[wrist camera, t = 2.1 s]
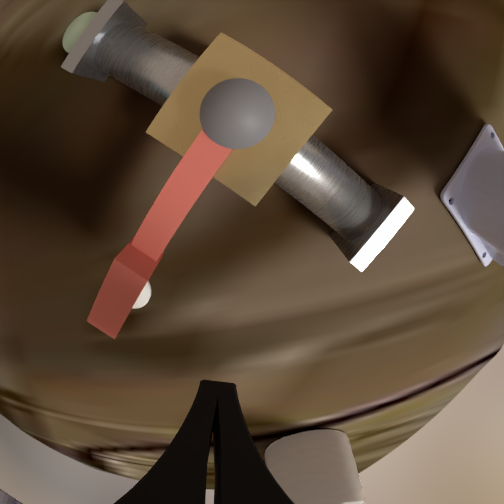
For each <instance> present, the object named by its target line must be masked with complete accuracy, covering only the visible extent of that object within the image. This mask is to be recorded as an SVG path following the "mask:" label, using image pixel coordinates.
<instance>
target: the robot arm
mask: <svg viewBox="0 0 504 504" xmlns="http://www.w3.org/2000/svg"><path fill="white" fill-rule="evenodd" d="M440 197H441V200H442V202H443V203H444V205H445V206H446V207H447V209H448V210H449V212H450V213H451V215H452V216H453V217H454V219H455V220H456V222H457V223H458V225H459V226H460V228H461V230H462V231H463V233H464V234H465V236H466V237H467V239H468V241H469V242H470V244H471V246H472V247H473V249H474V251H475V252H476V254H477V256H478V257H479V259H480V261H481V263H482V264H483V265H484V266H487V265H489V263H490V262H491V260H492V259H493V260H495V261H496V262H497V263H499V264H500V265H501V266H503V267H504V148H503V146H502V144H501V142H500V140H499V139H498V137H497V135H496V133H495V131H494V129H493V128H492V126H491V125H490V124H485V125H484V126H483V128H482V130H481V132H480V133H479V135H478V137H477V138H476V140H475V142H474V143H473V145H472V147H471V148H470V150H469V151H468V153H467V155H466V156H465V158H464V159H463V161H462V162H461V164H460V165H459V167H458V168H457V170H456V171H455V173H454V174H453V176H452V177H451V179H450V180H449V182H448V183H447V184H446V186H445V187H444V189H443V190H442V192H441V195H440ZM450 198H451V201H450V203H449V199H450ZM212 434H213V440H214V464H215V491H214V504H295V503H294V502H293V501H292V500H291V499H290V498H289V497H288V495H287V494H286V493H285V492H284V490H283V489H282V488H281V486H280V485H279V484H278V482H277V481H276V480H275V478H274V477H273V475H272V474H271V472H270V471H269V469H268V468H267V466H266V464H265V463H264V461H263V459H262V457H261V456H260V454H259V452H258V450H257V448H256V446H255V444H254V442H253V440H252V437H251V435H250V433H249V430H248V428H247V425H246V422H245V420H244V417H243V414H242V411H241V407H240V404H239V400H238V395H237V389H236V385H235V384H234V383H227V382H218V381H210V380H202V381H200V386H199V389H198V392H197V395H196V398H195V400H194V402H193V405H192V407H191V409H190V411H189V413H188V415H187V417H186V419H185V421H184V423H183V424H182V426H181V428H180V429H179V431H178V433H177V434H176V436H175V438H174V439H173V441H172V442H171V444H170V445H169V446H168V448H167V449H166V451H165V452H164V453H163V455H162V456H161V457H160V458H159V460H158V461H157V462H156V463H155V465H154V466H153V467H152V468H151V469H150V470H149V471H148V473H147V474H146V475H145V476H144V477H143V478H142V479H141V480H140V481H139V482H138V483H137V484H136V485H135V486H134V487H133V488H132V489H131V490H130V491H129V492H127V493H126V494H125V495H124V496H123V497H121V498H120V499H119V500H118V501H116V502H115V503H114V504H205V494H206V493H205V492H206V475H207V462H208V456H209V451H210V445H211V439H212ZM0 504H22V503H21V502H19V501H17V500H16V499H15V498H13V497H12V496H10V495H8V494H7V493H5V492H4V491H3V490H1V489H0Z"/></svg>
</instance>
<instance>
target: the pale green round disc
mask: <svg viewBox="0 0 504 504" xmlns="http://www.w3.org/2000/svg"><path fill="white" fill-rule="evenodd" d="M96 14H97V12H87V13H84V14H82V15H80V16H78V17H77V18H76V19H74V20H73V21H72V22H71V24H70V25H69V26H68V28H67V29H66V31H65V33H64V36H63V47H64V49H65V51H66V52H68V53H70V51H71V49H72V48H73V46H74V45H75V43H76V42H77V40H78V39H79V37H80V36H81V34H82V33H83V32H84V30H85V29H86V27H87V26H88V25H89V23H90V22H91V21H92V19H93V18H94V17H95V15H96Z"/></svg>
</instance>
